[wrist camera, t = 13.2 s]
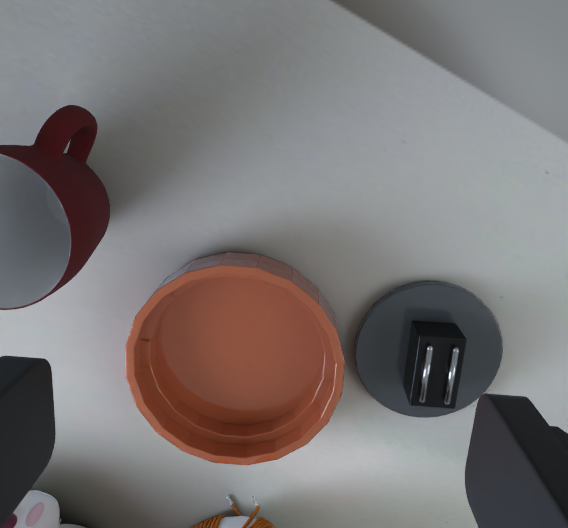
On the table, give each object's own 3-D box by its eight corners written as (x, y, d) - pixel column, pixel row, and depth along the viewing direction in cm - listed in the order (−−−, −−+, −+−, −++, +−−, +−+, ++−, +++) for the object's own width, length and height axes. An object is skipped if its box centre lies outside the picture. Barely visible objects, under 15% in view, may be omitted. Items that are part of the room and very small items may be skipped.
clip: (411, 319, 36) (420, 338, 33) (456, 323, 36) (469, 342, 33) (402, 386, 38) (410, 409, 35) (445, 389, 38) (457, 413, 35)
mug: (37, 80, 34) (-70, 69, 24) (160, 125, 34) (103, 131, 25) (5, 234, 37) (-102, 279, 27) (119, 274, 37) (53, 332, 27)
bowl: (140, 243, 36) (122, 257, 33) (350, 258, 36) (354, 274, 33) (142, 427, 40) (127, 456, 37) (331, 442, 40) (333, 472, 37)
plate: (361, 275, 36) (363, 279, 36) (511, 286, 36) (515, 290, 35) (347, 406, 39) (348, 412, 38) (485, 417, 39) (489, 423, 38)
